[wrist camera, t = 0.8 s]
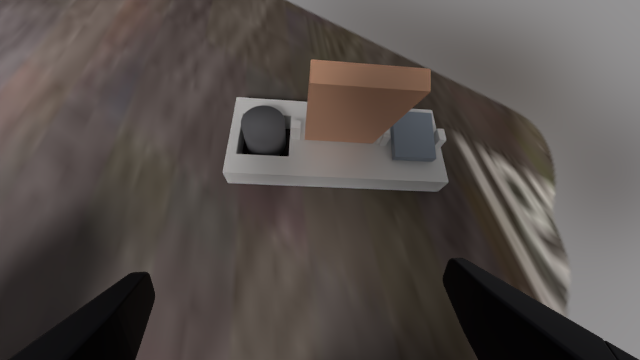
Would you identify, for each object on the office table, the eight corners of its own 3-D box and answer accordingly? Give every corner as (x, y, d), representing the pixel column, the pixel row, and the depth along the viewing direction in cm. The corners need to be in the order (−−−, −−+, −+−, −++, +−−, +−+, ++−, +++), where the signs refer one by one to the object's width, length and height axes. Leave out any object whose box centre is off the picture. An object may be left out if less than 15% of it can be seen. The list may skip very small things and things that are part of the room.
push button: (284, 160, 24) (283, 141, 22) (244, 158, 24) (237, 139, 21) (287, 128, 26) (286, 106, 23) (249, 126, 26) (243, 104, 23)
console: (437, 191, 25) (459, 173, 22) (227, 183, 23) (217, 162, 20) (423, 122, 28) (439, 98, 25) (240, 111, 27) (233, 84, 24)
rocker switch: (431, 161, 24) (436, 158, 23) (392, 159, 23) (395, 156, 23) (427, 117, 25) (431, 112, 24) (389, 115, 25) (392, 110, 24)
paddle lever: (372, 143, 24) (430, 91, 13) (304, 139, 23) (309, 82, 13) (372, 130, 24) (430, 68, 13) (305, 126, 23) (310, 59, 13)
